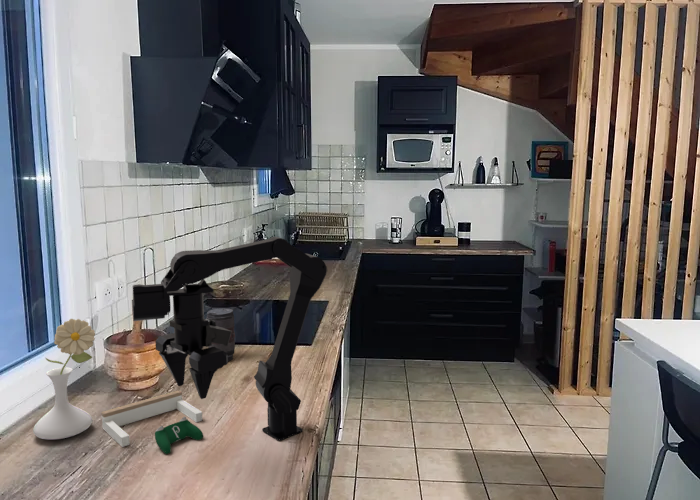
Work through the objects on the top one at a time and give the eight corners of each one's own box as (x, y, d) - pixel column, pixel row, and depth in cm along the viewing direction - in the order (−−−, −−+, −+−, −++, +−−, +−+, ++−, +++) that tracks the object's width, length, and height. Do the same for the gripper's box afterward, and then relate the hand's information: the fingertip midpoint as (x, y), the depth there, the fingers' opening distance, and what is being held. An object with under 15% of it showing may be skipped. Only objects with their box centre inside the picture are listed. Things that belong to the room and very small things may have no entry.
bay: (202, 420, 123) (201, 404, 123) (122, 446, 111) (121, 429, 110) (179, 405, 131) (178, 390, 131) (102, 428, 119) (101, 411, 119)
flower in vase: (30, 449, 110) (20, 330, 107) (37, 426, 120) (28, 316, 117) (100, 437, 115) (93, 323, 112) (101, 416, 125) (94, 310, 122)
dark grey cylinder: (221, 353, 171) (219, 306, 169) (240, 357, 167) (239, 309, 165) (202, 360, 164) (200, 312, 162) (222, 365, 160) (220, 315, 158)
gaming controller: (198, 444, 116) (186, 420, 118) (205, 435, 114) (192, 411, 116) (160, 461, 109) (147, 435, 111) (167, 452, 107) (154, 426, 109)
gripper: (250, 317, 105) (252, 393, 107) (202, 301, 118) (204, 370, 120) (198, 327, 97) (201, 410, 99) (152, 310, 111) (156, 383, 113)
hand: (191, 391), depth 108 cm, fingers open, 9 cm apart
